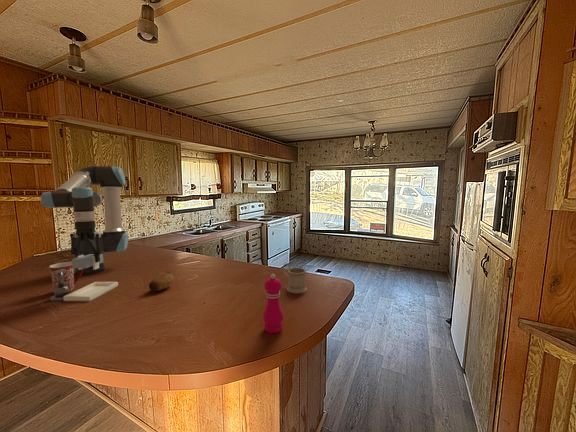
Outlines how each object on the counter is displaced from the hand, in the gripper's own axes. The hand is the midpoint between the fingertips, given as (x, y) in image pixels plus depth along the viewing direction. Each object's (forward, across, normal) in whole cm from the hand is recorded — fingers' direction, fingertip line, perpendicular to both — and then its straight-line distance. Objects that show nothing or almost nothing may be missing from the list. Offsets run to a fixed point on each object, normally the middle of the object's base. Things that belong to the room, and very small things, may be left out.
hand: (89, 268), depth 118 cm
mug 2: (+13, +97, +9) cm, 98 cm away
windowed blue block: (-2, 0, 0) cm, 2 cm away
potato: (+13, +31, +6) cm, 34 cm away
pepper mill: (+13, +90, -29) cm, 95 cm away
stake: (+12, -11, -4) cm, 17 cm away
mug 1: (+13, -15, +5) cm, 20 cm away
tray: (+12, 0, +1) cm, 13 cm away
